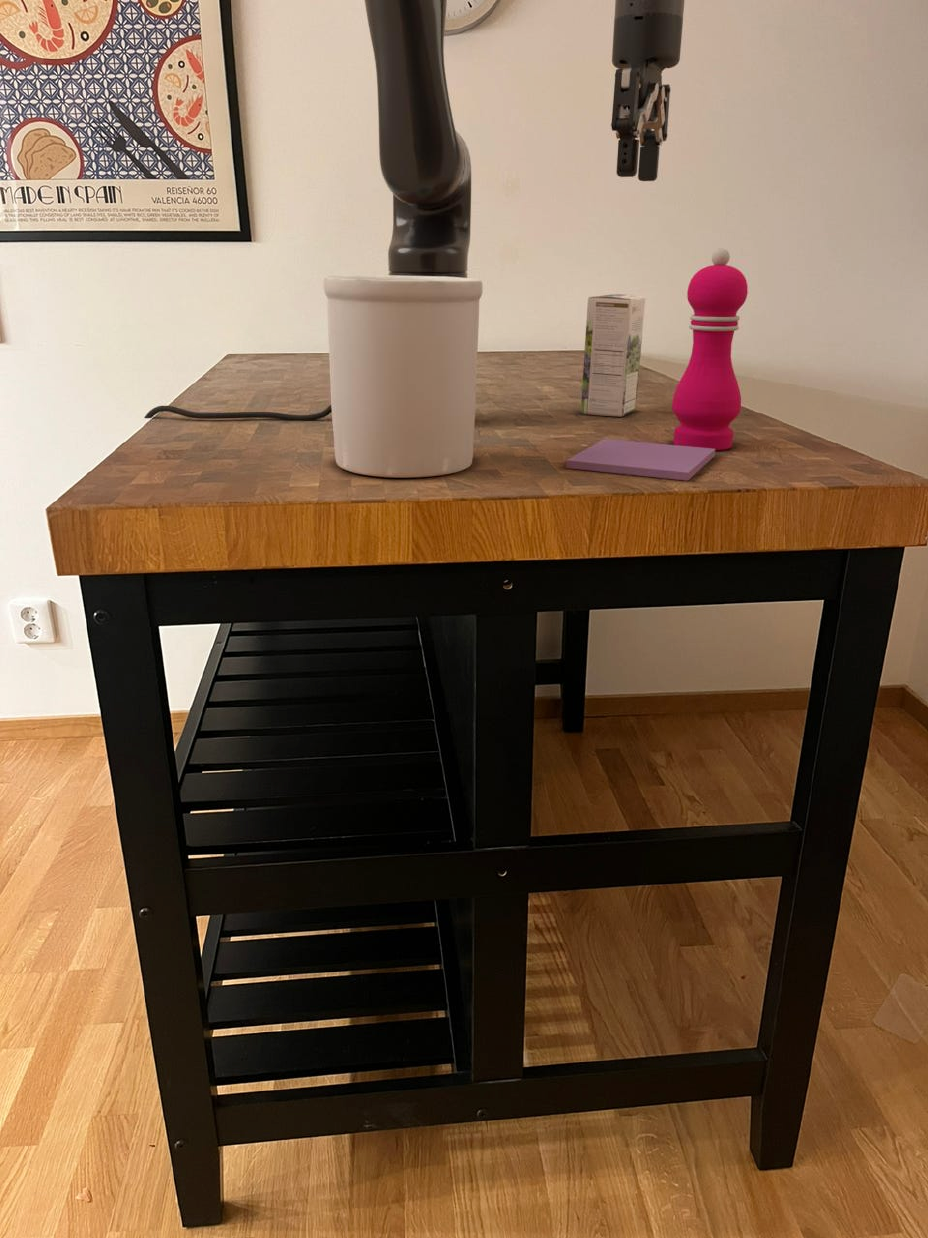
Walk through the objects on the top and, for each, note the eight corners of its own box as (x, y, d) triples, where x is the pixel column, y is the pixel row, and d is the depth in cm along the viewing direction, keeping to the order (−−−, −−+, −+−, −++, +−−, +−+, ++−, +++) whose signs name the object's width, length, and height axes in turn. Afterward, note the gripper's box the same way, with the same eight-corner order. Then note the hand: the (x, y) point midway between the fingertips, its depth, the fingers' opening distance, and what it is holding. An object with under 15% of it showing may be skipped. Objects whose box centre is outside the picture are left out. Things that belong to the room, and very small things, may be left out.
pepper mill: (738, 453, 97) (761, 248, 90) (668, 450, 99) (685, 248, 91) (734, 440, 104) (755, 248, 96) (668, 437, 105) (684, 247, 98)
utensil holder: (466, 446, 101) (467, 273, 94) (494, 477, 87) (497, 278, 81) (329, 450, 98) (320, 274, 92) (335, 483, 85) (325, 279, 78)
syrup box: (595, 407, 124) (601, 293, 119) (637, 411, 122) (646, 294, 116) (579, 414, 120) (585, 295, 114) (623, 417, 117) (631, 296, 112)
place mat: (565, 468, 91) (566, 459, 91) (603, 445, 101) (603, 438, 101) (687, 480, 86) (688, 472, 86) (714, 456, 96) (715, 448, 96)
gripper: (634, 32, 110) (624, 182, 116) (595, 5, 98) (586, 175, 104) (697, 26, 107) (683, 181, 113) (665, -2, 95) (651, 174, 101)
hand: (637, 178), depth 109 cm, fingers open, 8 cm apart
